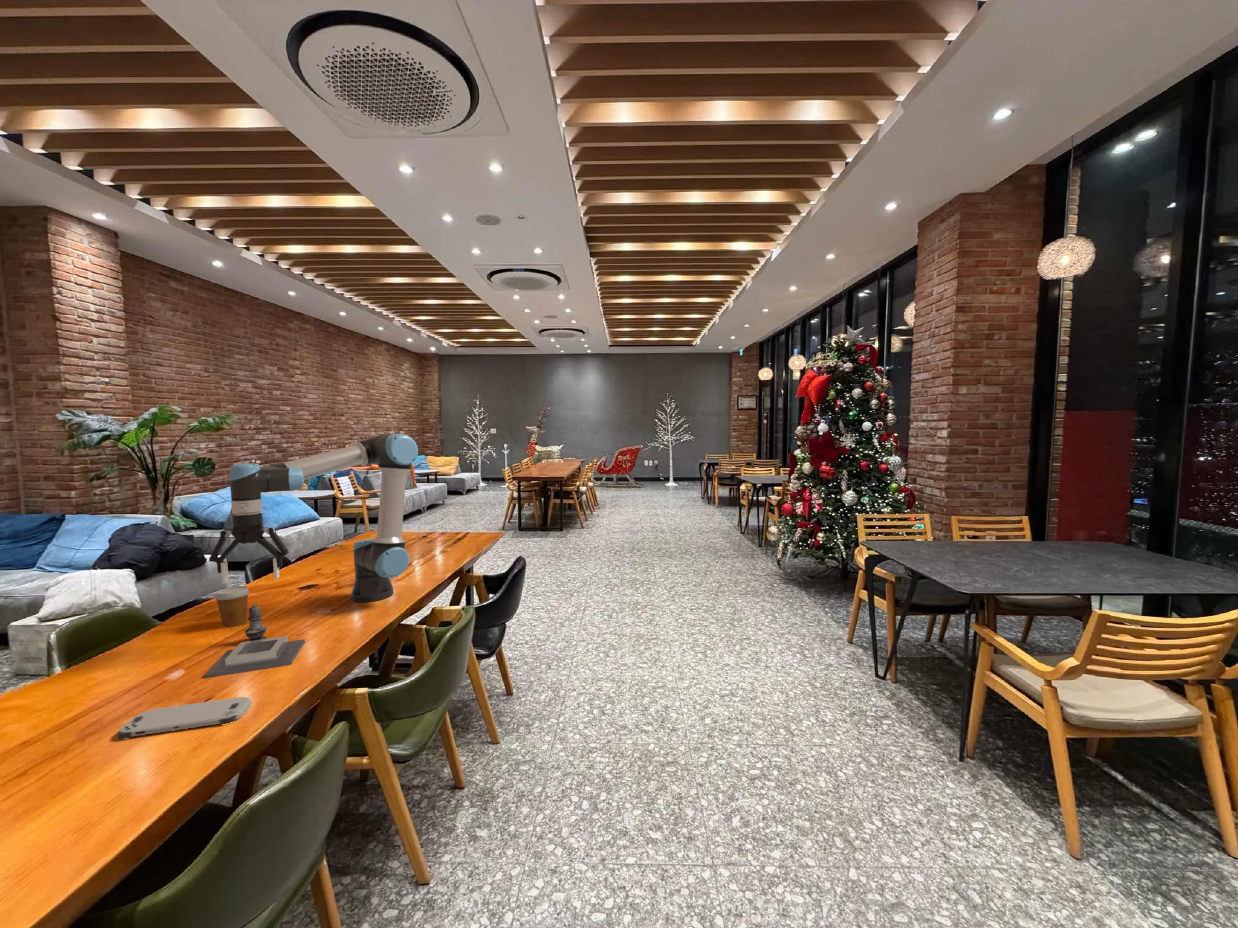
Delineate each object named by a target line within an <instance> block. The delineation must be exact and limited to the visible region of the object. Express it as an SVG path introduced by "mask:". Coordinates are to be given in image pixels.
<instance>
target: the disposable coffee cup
mask: <svg viewBox="0 0 1238 928" xmlns="http://www.w3.org/2000/svg"><path fill="white" fill-rule="evenodd" d="M249 593H250V590H249V588H248V586H245V585H236V586H230V587H225V588H223V589H219V590H217V591H216V592H215V595H214V598H215V599H216V603H217V606H218V607H217V608H218V611H219V615H220V619H221V622H222V626H223V627H224V628H233V626H234V627H237V626H241V625H244V624H245V623H246V620H247V612H248V611H247V609H248V597H249Z"/></svg>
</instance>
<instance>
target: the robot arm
mask: <svg viewBox="0 0 1238 928" xmlns="http://www.w3.org/2000/svg"><path fill="white" fill-rule="evenodd" d="M418 455H419V447H418V444H417V443H416V441H415V440H414V438H412V437H411V436H409V435H407V434H404V433H383V434H378V435H375V436H372V437H370V438H367V439H363V440H360V441H356V442H355V443H354V444H353V445H352V446H346V447H343V448H338V449H334V450H330V451H327V452H322V453H318V454H314V455H311V456H307V457H302V458H298V459H294V460H291V461H286V462H282V463H277V464H274V465H265V466H261V467H260V465H259V464H258V463H235V464H232V465H231V466H230V467H229V478H228V480H229V487H230V496H231V497H230V498H231V499H230V501H231V503H230V504H231V505H230V506H231V513H232V514H233V515H232V517H231V518H232V530H228V529H223V530H221V531H220V533H219V540H218V541H217V543H216V545H215V547H214V549H213V551H212V553H211V555H210V557H209V559H208V561H209V562H211V563H212V562H213V563H216V567H217V568H216V569H217V573H218V574H220V575H221V584H222V585H225V584H228V582H229V569H228V560H226V559H227V558H228V556H229V555H230V554H231V553H232V552H233V550H235V548H236V547H237V546H239V544H242V545H244V544H245V545H246V544H255V543H258V544H259V545H261V546H262V547H263V548H265V550H267V551H268V552H269V553H270V554H272V556H274V557H273V558H272V566H273V579H274V580H277V579H279V578H280V568H282V567H283V557H284V556H286V555H288V554H289V550H288V548H287V546H285V544H284V542H283V541H282V540H281V538H280V537H279V535H278V534H277V532H276V527H275V526H270V527H266V528H265V527H264V526H263V523H264V521H263V513H262V512H261V511H263V508H262V493H263V494H265V493H274V492H289V491H290V492H293V491H297V490H301V489H303V487H304V485H305V480H309V479H312V478H316V477H318V476H322V475H327V474H330V473H334V472H337V471H341V470H344V469H347V468H351V467H352V468H353V467H355V466H360V465H361V466H364V467H366V466H369V465H374V464H375V465H378V467H377V469H378V470H379V471H380V472H381V480H380V481H381V482H380V493H379V504H378V505H379V506H378V507H379V508H378V519H377V529H376V530H377V531H376V536H375V537H371V538H365V539H361V540H357V541H355V542H354V543H353V550H352V551H353V563H354V564H353V565H354V576H355V579H354V583H353V586H352V589H351V593H350V594H351V596H350V598H351V599H350V600H351V601H353V602H355V603H356V602H357V603H369V602H376V601H381V600H385V599H388V598H390V597H392V595H394V592H395V591H394V586H393V584H392V581H391V579H392V578H396V577H399V576H400V575H402V574H403V572H405V571H406V570H407V568H408V567H409V564H410V555H409V553H408V551H407V550H406V539H404V538H403V536H402V533H403V523H404V522H403V521H404V510H405V509H404V507H405V500H406V499H405V498H406V496H405V495H406V483H407V476H408V473H410V472H411V471H412V466H413V463H414V462H415V461H416V459H417V458H418ZM265 533H266V535H269V537H270V538H271V540H272V542H273V543H274V544H275V546H276V547H275V546H274V545H273V544H272V543H270V541H268V540H267V538H265V536H264V534H265ZM231 535H232V536H233V538H234V539H233V541H232V542H231V543H230V545H229V546H228V547H227V548H226V549H225V550H224V551H223V553H222V554H221V555H220V553H221V552H222V549H223V547H224V545H225V544H226V541H227V539H228V538H229V537H230V536H231ZM219 555H220V556H219ZM218 556H219V557H218Z"/></svg>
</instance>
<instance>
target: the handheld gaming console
mask: <svg viewBox="0 0 1238 928" xmlns="http://www.w3.org/2000/svg"><path fill="white" fill-rule="evenodd" d="M251 705H252V699H251V698H249V697H246V696H240V697H238V696H237V697H233V698H224V699H218V700H217V699H216V700H211V701H210V700H209V701H203V702H196V703H189V704H181V705H173V706H166V707H159V708H154V709H153V708H152V709H150V710H146V711H144V712H142V713H139V714H137V715H136V716H134V717H132V718H131V719H130V720H129V721H127V723H126V724H124V725H123V726H121V727H120V728H119V730H118V732H117V735H118V736H117V738H119V739H118V740H120V739H124V738H125V739H126V738H130V737H131V738H134V737H133V736H137V737H141V736H140V735H144V736H146V735H145V734H151V735H154V734H153V733H158V734H162V733H161V732H165V733H167V732H166V731H172V732H174V731H173V730H179V731H182V730H181V729H186V728H193V729H196V728H195V727H200V728H202V727H201V726H207V727H209V726H208V725H213V726H216V725H215V724H220V726H223V725H222V724H226V723H230V722H233V721H235V722H236V721H237V720H239V719H241V717H242V716H243V715H244V714H245V713H246V712H247V710H248V709H249V708H250V707H251ZM238 718H239V719H238ZM236 719H237V720H236ZM186 730H187V729H186ZM131 738H130V739H131ZM126 740H127V739H126Z"/></svg>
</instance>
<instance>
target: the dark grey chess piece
mask: <svg viewBox="0 0 1238 928" xmlns="http://www.w3.org/2000/svg"><path fill="white" fill-rule="evenodd" d="M260 609H261V608H260V606H258V605H256V604H255V603H253V604H252V605H251V606H250V608H248V618H247V620H248V623H249V624H248V625H249V627H248V628H247V629H245V630H244V633H245V636H246V637H247V638H248V639H247V641H255V640H262V639H268V637H266V636H264V635H265V633H266V632H267V629H268V627H267V626H266V625H263V624H262V615H261V610H260Z"/></svg>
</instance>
